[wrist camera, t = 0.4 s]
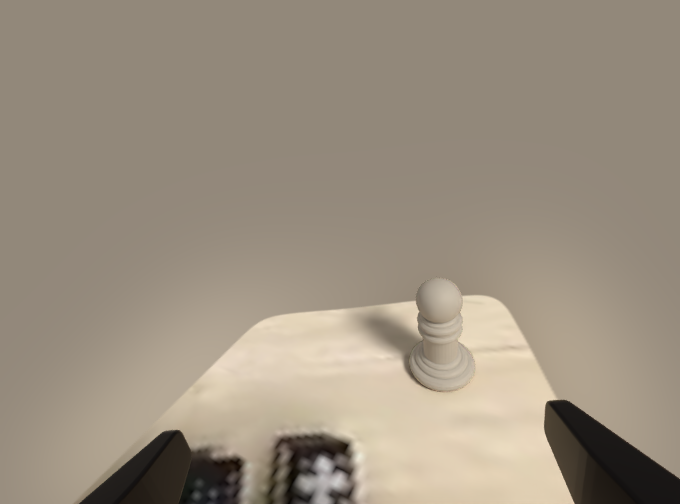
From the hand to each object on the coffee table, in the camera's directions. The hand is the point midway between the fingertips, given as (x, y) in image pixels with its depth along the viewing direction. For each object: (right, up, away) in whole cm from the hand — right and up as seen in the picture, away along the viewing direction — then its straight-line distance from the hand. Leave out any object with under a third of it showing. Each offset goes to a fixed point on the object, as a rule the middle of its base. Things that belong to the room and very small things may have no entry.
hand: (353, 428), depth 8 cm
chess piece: (+8, -6, +20) cm, 23 cm away
